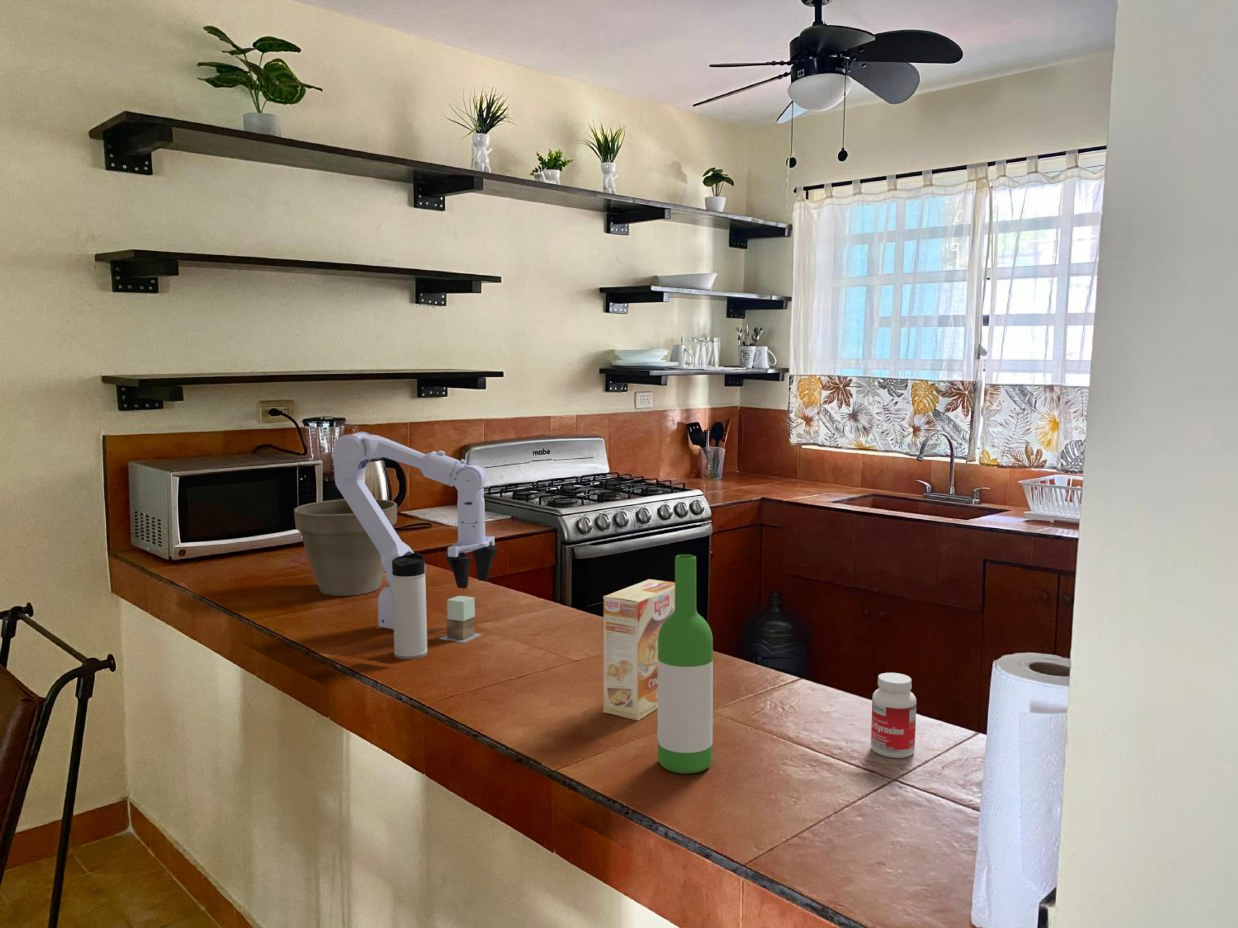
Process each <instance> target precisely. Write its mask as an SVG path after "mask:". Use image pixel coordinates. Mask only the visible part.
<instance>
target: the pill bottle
mask: <svg viewBox="0 0 1238 928" xmlns="http://www.w3.org/2000/svg"><path fill="white" fill-rule="evenodd" d="M877 686H878V688H877V689H876V690H875V691H874V692H873V693H872V702H871V725H870V726H871V730H870V731H871V735H870V746H871V749H872V751H874V753H876V754H878V755H880V756H883V757H886V758H892V759H904V758H905V759H906V758H909V757H911V756H912V755H913V754H914V753H915V749H916V724H917V722H916V719H917V698H916V696H915V694H914V693H913V692H912V691H911V690H912V678H911V677H910V676H909V675H907V674H903V673H899V672H898V673H897V672H884V673H880V674H878V676H877Z"/></svg>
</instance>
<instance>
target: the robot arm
mask: <svg viewBox="0 0 1238 928" xmlns="http://www.w3.org/2000/svg"><path fill="white" fill-rule="evenodd" d="M331 457H332V461H333V468H334V469H333V470H334V472H333V473H334V483H335V486H336V487H337V489H338V491H339V492H340V494H341V496H342V497H343V499H345V500H346V502H347V503H348V505H349V506H350V508H351V509H352V511H353V512H354V514H355V515H356V517H357V519H358V520H359V522H360V523H361V525H362V526H363V528H364V529H365V531H366V533H367V534H368V536H369V537H370V539H371V540H372V542H373V543H374V545H375V547H376V548H377V550H378V551H379V553H380V554H381V564H382V566H383V568H384V572H385V577H386V578H385V579H386V582H387V584H388V585H389V586H386V587H384V588H382V589H381V591H380V592H379V594H378V599H377V612H378V613H377V614H378V616H377V617H378V626H377V627H376V629H378V628H385V629H391V630H394V622H393V589H392V578H393V577H392V571H393V569H392V560H393V559H394V558H396V557H399V556H403V555H411V554H412V553H415V552H414V551H413V549H412V548H411V547H410V546H409V545H408V544H406V543H405V542H404V541H402V539H401V538H400V535H398V533H397V531H396V530H395V528H394V526H393V527H392V525H391V524H390V522H389V520H388V519H387V517H386V516H385V514H384V513H383V511H382V510H381V508H380V506H379V505H378V503H377V502H376V500H375V499H376V498H375V497H374V496H373V494H372V492H371V491H370V489H369V488H368V486H367V484H366V483H365V482H364V475H365V472H366V469H367V466H368V464H369V463H370V461H371V460H374V459H375V460H376V459H379V458H385V459H389V460H393V461H395V462H399V463H401V464H405V465H407V466H408V465H409V466H411V467H414V468H418V469H419V470H420V471H421V474H422V475H423V477H425V478H427V479H430V480H434V481H437V482H438V483H441V484H444V485H447V486H449V487H455V489H456V490H457V503H456V504H457V507H456V508H457V542H456V543H454V544H452V545H450V546H448V547H447V554H446V555H445V560H446V562H447V563H448V565H449V567H450V569H451V571H452V573H453V576H454V579H455V583H456V587H457V589H468V586H469V576H470V574H469V573H470V568H471V564H472V560H473V557H474V561H475V567H476V568H475V570H476V577H477V581H482V582H488V580H489V576H490V573H491V567H492V563H493V561H494V558H495V556H496V554H497V553H498V547H497V546H495V545H496V544H495V538H496V536H493V535H492V536H491V535H486V516H485V515H486V514H485V512H486V510H485V507H486V506H485V505H486V503H485V498H484V497H485V496H484V495H485V491H484V490H485V489H484V486H485V483H486V481H487V475H486V472H485V469H484V468H483V467H482V466H480V465H478V464H477V463H475V462H470V463H467V460H466V459H464V458H462V459H461V460H459V459H457V458H454V457H451V456H448V455H446V452H445V451H443V450H438V451H435V450H433V451H431V452H429V453H426V454H425V453H423V452H420V451H418V450H416V449H413V448H411V447H408V446H406V445H403V444H401V443H398V442H397V441H394V440H392V439H389V438H386V437H384V436H381V435H377V434H370V433H368V432H366V431H357V432H356V433H352V434H344V435H342V436H340V437H338V439H337V440H336V442H335V444H334V446H333V449H332V451H331ZM470 552H472V554H473V557H472V556H467V555H466V554H468V553H470ZM424 569H425V572H426V569H427V568H426V565H425V568H424Z"/></svg>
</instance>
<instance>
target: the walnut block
mask: <svg viewBox="0 0 1238 928" xmlns="http://www.w3.org/2000/svg"><path fill="white" fill-rule="evenodd" d="M474 633H475V617H472V618H470V619H468V620H465V621H459V620H451V619H448V617H447V618H446V635H447V638H452V639H459V640H465V639H467V638H469V637H471V636H473V635H474Z"/></svg>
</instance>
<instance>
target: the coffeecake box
mask: <svg viewBox="0 0 1238 928" xmlns="http://www.w3.org/2000/svg"><path fill="white" fill-rule="evenodd" d="M602 598H603V713H605V714H608V715H614V716H618V717H621V718H626V719H629V720H634V721H640V720H642V719H643V718H645V717H646V716H648V715H650V714H651V713H653V712H654V711H656V710H658V636H659V631H660V628H661V626H662V624H663V623H664V621H665V620H666V619H667V618H668V617H669V616H670V615H672V614H673V613H674V610H675V581H674V582H673V581H666V580H658V579H651V578H649V579H646V580H643V581H641V582H639V583H635V584H633V585H630V586H627V587H625V588H623V589H620V590H617V591H614V592H612V593H609V594H607V595H604V596H602Z"/></svg>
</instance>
